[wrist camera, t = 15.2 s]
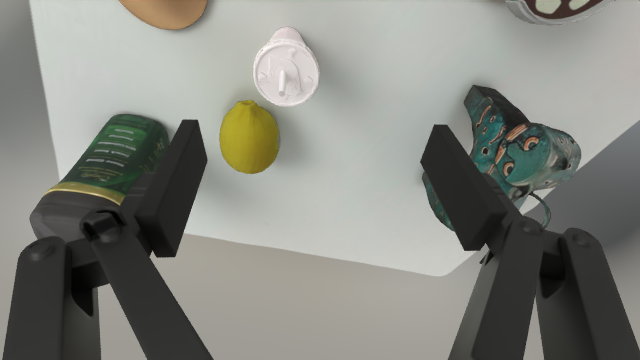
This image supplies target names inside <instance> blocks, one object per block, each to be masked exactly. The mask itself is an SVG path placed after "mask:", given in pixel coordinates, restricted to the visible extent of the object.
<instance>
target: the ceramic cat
mask: <svg viewBox="0 0 640 360" xmlns="http://www.w3.org/2000/svg"><path fill="white" fill-rule="evenodd" d="M464 105H465V107H466V109H467V111H468V113H469V115H470V118H471V121H472V130H473V137H474V142H473V148H472V151H471V153H470V156H469V157H470V158H471V159H472V161H473V162H474V164H475V165H476V167H477V168H478V169H479V171H480V172H481V173H488V174H489V175H490V176H492V177H493V178H494V179H496V181H497V182H498V183H499V185H500V186H501V189H503V190H504V192H505V193H506V195H507V196H508V197H509V198H510V200H511V201H512V202H513V204H514V205H515V206H516V208H517V209H518V210H519V209H520V207H521V206H522V204H523V203H524V201H525V200H526V198H527V196H528V195H531V196H533V197H535V198H536V199H538V200H539V201H540V202H541V203H542V204H543V206H544V208H545V219H544V222H543V224H542V226H543V228H544V229H545V228H546V227H547V225H548V223H549V221H550V218H551V212H550V210H549V208H548V207H547V206H546V204H545V202H544V201H543V200H542V199H541V198H540V197H539V196H537V195H536V194H534V193H533V191H535V190H542V189H548V188H553V187H556V186H559V185H561V184H563V183H564V182H566V181H567V180H569V179H570V178H571V177H572V176H573V174H574V173H575V171H576V170H577V168H578V165H579V162H580V159H581V149H580V147H579V145H578V144H577V143H576V142H575V140H574V139H573V138H572V137H571V136H570V135H569V134H567V133H565V132H563V131H560V130H557V129H553V128H550V127H548V126H545V125H543V124H538V123H530V122H529V120H528V119H527V118H526V116H525V115H524V114H523V113H522V112H521V111H520V110H519V109H518V108H516V107H515V106H514V105H513V104H512V103H510V102H509V101H508V100H507V99H506V98H505V97H504V96H503V95H501V94H500V93H499V92H498V91H496V90H495V89H491V88H487V87H481V86H476V85H473V86H472V88H471V90H470V91H469V93H468V95H467V97H466V98H465V100H464ZM422 180H423V183H424V185H425V188H426V192H427V196H428V200H429V204H430V206H431V208H432V210H433V212H434V214H435V216H436V217H437V218H438V219H439V220H440V222H441V223H443V224H444V225H445V226H446V227H447V228H449V229H450V230H452V231H454V229H453V227H452V225H451V223H450V221H449V219H448V217H447V215H446V213H445V211H444V209H443V207H442V205H441V203H440V201H439V199H438V197H437V195H436V193H435V191H434V189H433V186H432V184H431V182H430V180H429V178H428V176H427V174H426V172H424V174H423V178H422ZM454 232H455V231H454Z"/></svg>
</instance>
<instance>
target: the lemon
mask: <svg viewBox="0 0 640 360" xmlns="http://www.w3.org/2000/svg"><path fill="white" fill-rule="evenodd" d="M219 139H220V148H221V152H222V155H223V157H224V159H225V160H226V162H227V163H228V164H229V165H230V166H231V167H232V168H234V169H235V170H237V171H239V172H243V173H246V174H255V173H259V172H262V171H263V170H265V169H266V168H268V167H269V166H270V165H271V164H272V163H273V162H274V160H275V158H276V156H277V154H278V151H279V148H280V135H279V130H278V127H277V124H276V122H275V120H274V118H273V117H272V116H271V115H270V113H268V112H267V111H266V110H265V109H263V108H262V107H260V106H258V105H257V104H256V103H255V102H254V101H252V100H247V101H239V102H237V103H236V105H235V106H234V108H232V109H231V110H230V111H229V112H228V113H227V114H226V115H225V117H224V119H223V122H222V125H221V129H220V138H219Z"/></svg>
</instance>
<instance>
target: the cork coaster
mask: <svg viewBox="0 0 640 360" xmlns="http://www.w3.org/2000/svg"><path fill="white" fill-rule="evenodd" d="M119 1H120V3H121V4H122V5H123V6H124V7H125V8H126V9H127V10H128V11H130V12H131V13H132V14H133V15H134V16H136V17H137V18H139V19H140V20H142V21H144V22H145V23H148V24H150V25H152V26H155V27H158V28H162V29H169V30H174V29H182V28H185V27H188V26H189V25H191V24H193V23H194V22H195V21H197V20H198V18H199V17H200V16H201V15H202V14H203V12H204V10H205V8H206V6H207V3H208V0H119Z"/></svg>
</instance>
